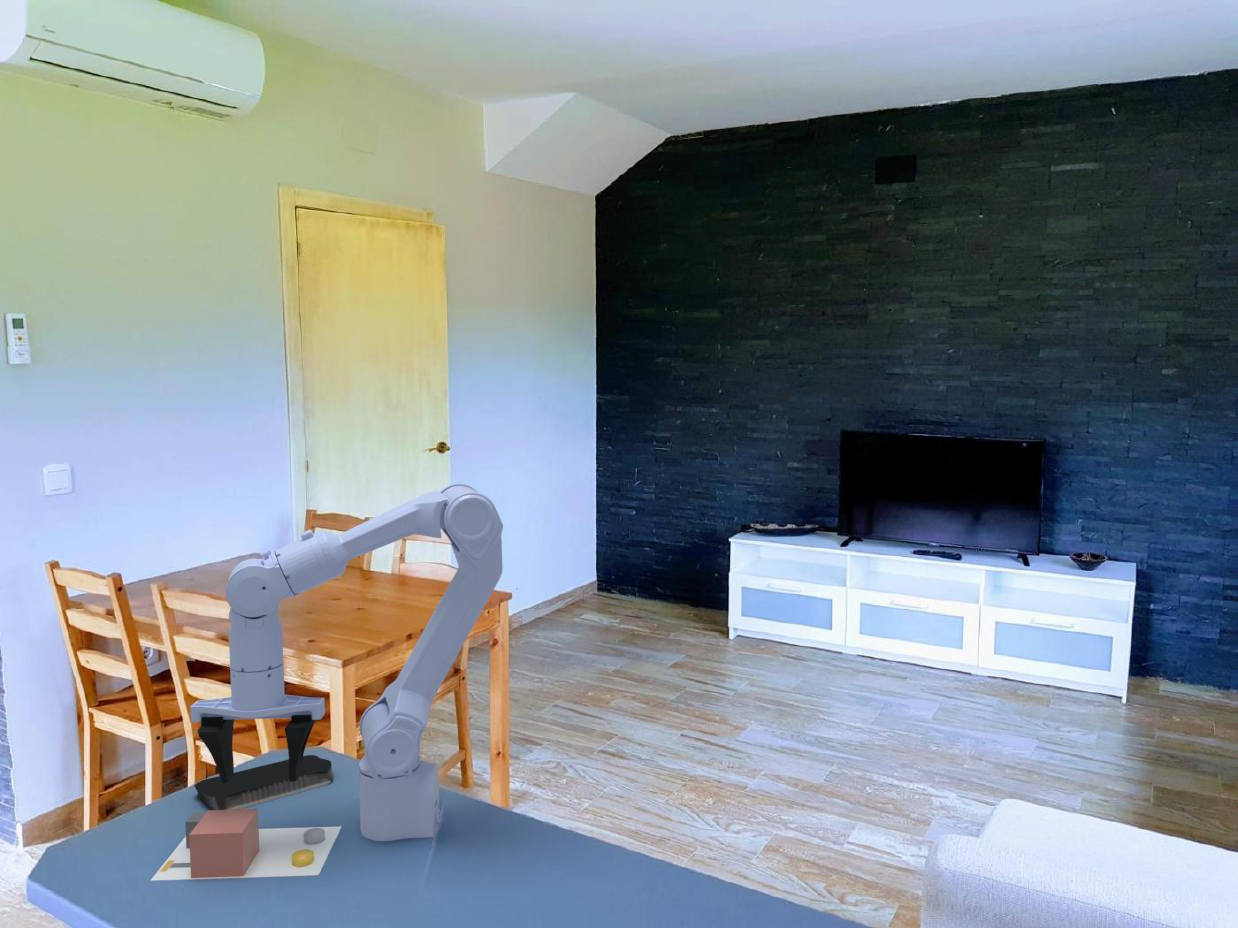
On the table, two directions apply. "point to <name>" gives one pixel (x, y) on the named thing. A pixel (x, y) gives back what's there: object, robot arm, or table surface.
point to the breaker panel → (263, 853)
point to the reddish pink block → (224, 843)
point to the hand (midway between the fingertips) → (261, 778)
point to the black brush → (263, 784)
